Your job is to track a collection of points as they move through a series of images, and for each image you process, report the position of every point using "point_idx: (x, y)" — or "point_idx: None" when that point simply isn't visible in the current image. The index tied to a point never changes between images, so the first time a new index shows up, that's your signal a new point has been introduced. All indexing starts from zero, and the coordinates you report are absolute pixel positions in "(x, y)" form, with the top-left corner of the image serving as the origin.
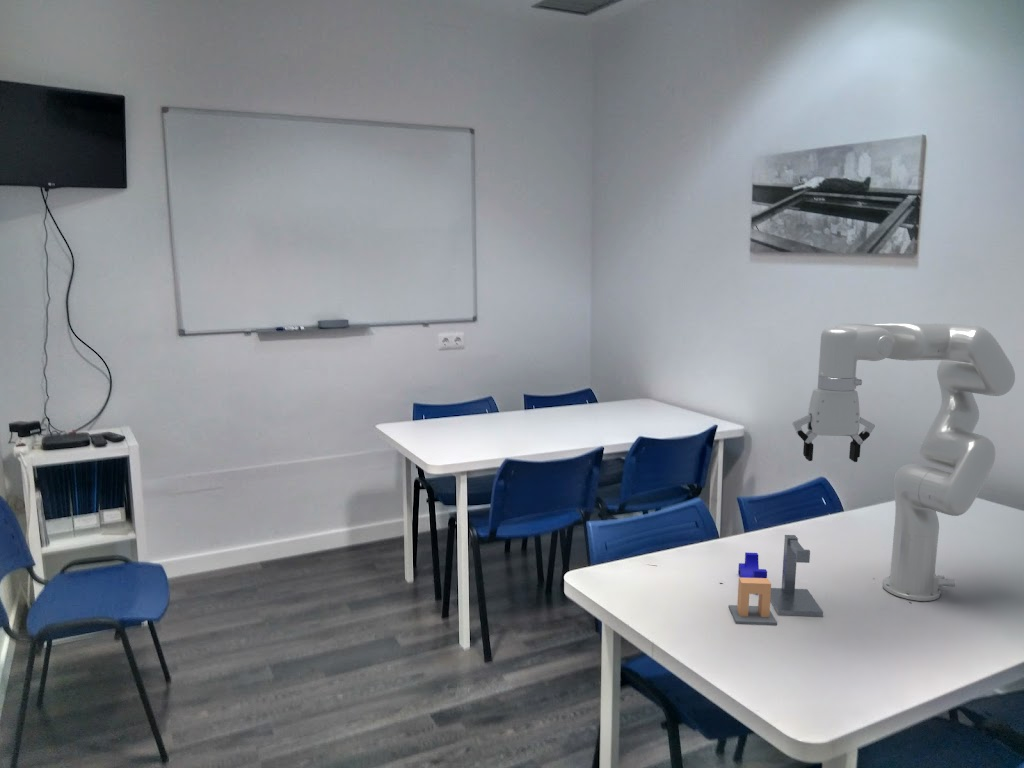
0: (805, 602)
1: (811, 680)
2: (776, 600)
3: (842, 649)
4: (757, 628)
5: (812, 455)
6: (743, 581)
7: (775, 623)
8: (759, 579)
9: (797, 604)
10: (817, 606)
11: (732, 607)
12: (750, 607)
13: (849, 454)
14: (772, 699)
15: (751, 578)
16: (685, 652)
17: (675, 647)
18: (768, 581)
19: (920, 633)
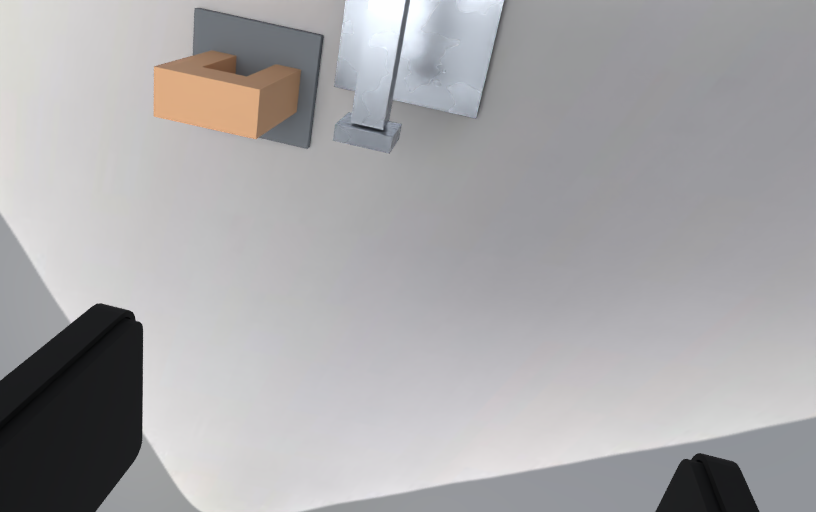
0: (453, 41)
1: (288, 387)
2: (357, 12)
3: (426, 292)
4: (247, 155)
5: (98, 502)
6: (162, 105)
7: (303, 146)
8: (225, 95)
9: (416, 54)
10: (478, 78)
11: (202, 27)
12: (260, 35)
13: (697, 497)
14: (187, 424)
15: (198, 83)
16: (42, 241)
17: (20, 216)
18: (252, 118)
19: (709, 255)
